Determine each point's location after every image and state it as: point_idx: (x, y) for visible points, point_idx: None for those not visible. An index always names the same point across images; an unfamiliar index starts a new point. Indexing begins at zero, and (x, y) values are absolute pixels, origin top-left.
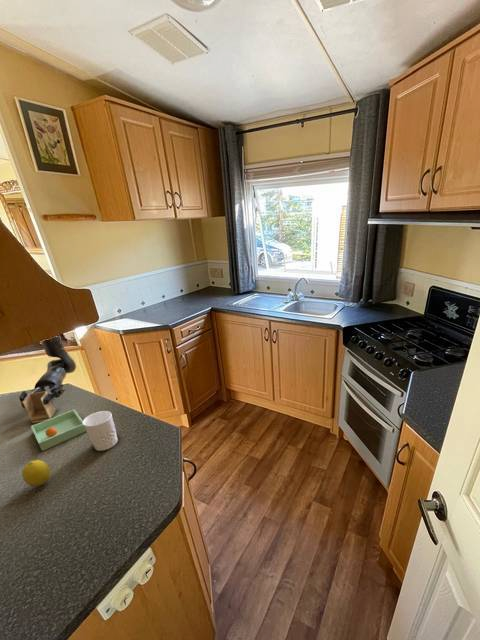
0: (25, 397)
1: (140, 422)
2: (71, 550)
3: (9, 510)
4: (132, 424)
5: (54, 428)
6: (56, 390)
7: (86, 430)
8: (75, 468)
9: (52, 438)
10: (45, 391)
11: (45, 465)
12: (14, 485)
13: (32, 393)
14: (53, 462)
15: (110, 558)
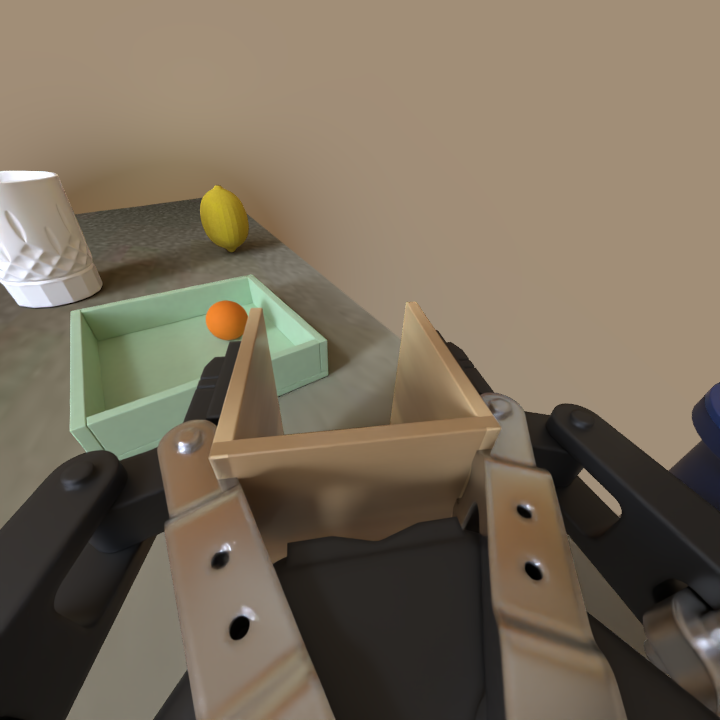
0: (501, 400)
1: None
2: (183, 213)
3: (272, 238)
4: None
5: (207, 313)
6: (43, 518)
7: (68, 200)
8: (166, 262)
9: (212, 286)
10: (235, 443)
11: (200, 207)
12: (286, 257)
13: (483, 474)
14: (217, 277)
15: (145, 208)
